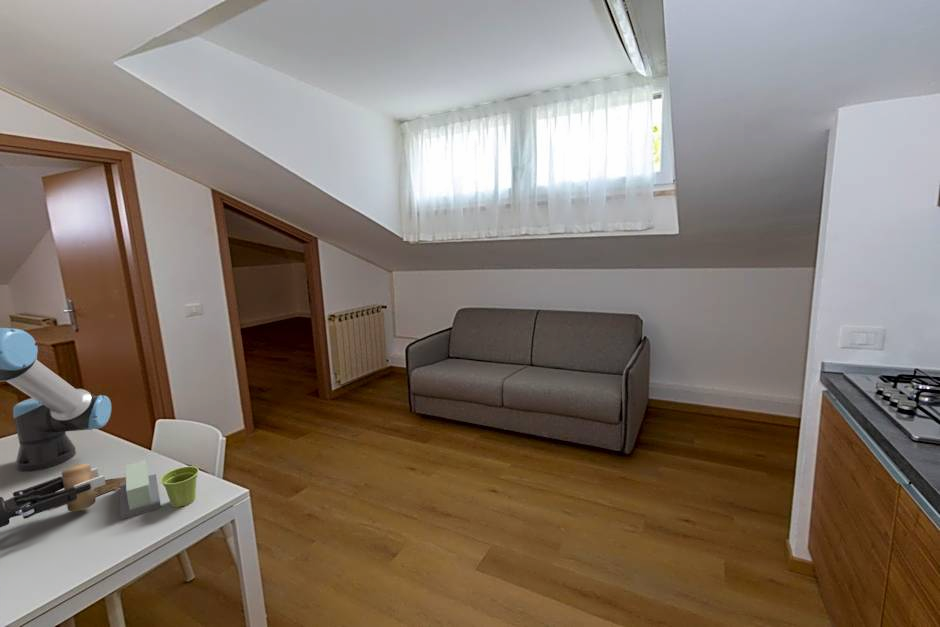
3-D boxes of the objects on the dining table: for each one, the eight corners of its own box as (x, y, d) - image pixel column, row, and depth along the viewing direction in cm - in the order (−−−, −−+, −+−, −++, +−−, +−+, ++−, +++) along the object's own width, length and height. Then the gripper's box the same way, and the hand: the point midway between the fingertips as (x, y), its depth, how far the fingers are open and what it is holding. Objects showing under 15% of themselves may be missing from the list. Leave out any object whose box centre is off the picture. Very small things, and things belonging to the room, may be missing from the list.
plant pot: (209, 495, 130) (206, 469, 128) (180, 514, 121) (175, 486, 120) (187, 489, 133) (183, 464, 131) (156, 507, 124) (152, 480, 123)
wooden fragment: (30, 516, 121) (29, 513, 121) (37, 498, 130) (36, 495, 130) (143, 484, 137) (143, 481, 137) (143, 470, 145) (142, 467, 145)
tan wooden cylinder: (68, 504, 123) (62, 468, 121) (95, 496, 126) (90, 461, 125) (67, 514, 118) (61, 477, 116) (95, 505, 122) (90, 469, 120)
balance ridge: (121, 488, 134) (117, 466, 133) (156, 478, 140) (153, 456, 138) (121, 519, 119) (117, 495, 118) (160, 507, 124) (157, 483, 123)
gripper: (-19, 517, 113) (93, 477, 131) (-8, 547, 102) (113, 498, 120) (-26, 491, 112) (89, 454, 130) (-15, 518, 101) (109, 474, 119)
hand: (100, 476), depth 125 cm, fingers closed on tan wooden cylinder, 6 cm apart
